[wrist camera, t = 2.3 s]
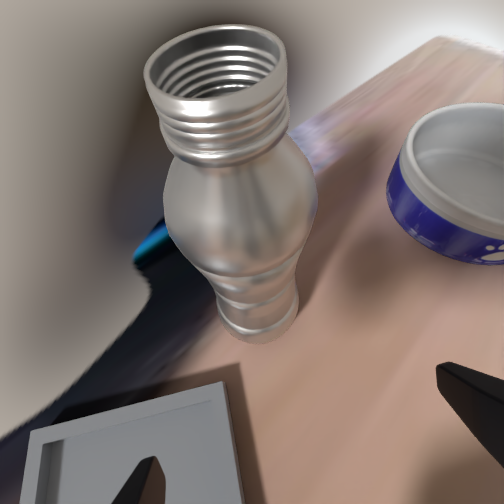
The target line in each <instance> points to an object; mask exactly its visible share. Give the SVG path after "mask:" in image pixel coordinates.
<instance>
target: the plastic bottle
mask: <svg viewBox="0 0 504 504" xmlns="http://www.w3.org/2000/svg"><path fill="white" fill-rule="evenodd" d="M144 79H145V81H146V88H147V90H148V93H149V95H150V97H151V99H152V102H153V104H154V107H155V109H156V111H157V114H158V116H159V118H160V130H161V132H162V135H163V137H164V139H165V142H166V144H167V146H168V148H169V150H170V151H171V152H172V153H173V154H174V155H175V157H174V159H173V162H172V164H171V166H170V169H169V173H168V177H167V181H166V184H165V189H164V195H163V200H164V213H165V221H166V226H167V229H168V232H169V235H170V236H171V238H172V240H173V241H174V243H175V244H176V246H177V247H178V248H179V249H180V251H181V252H182V253H183V255H184V256H185V257H186V258H187V259H188V260H189V261H190V262H191V263H192V264H193V265H194V266H195V267H196V268H197V269H198V270H199V271H200V272H201V273H202V274H203V275H204V276H205V277H206V278H207V279H208V281H209V282H210V284H211V285H212V287H213V288H214V290H215V294H216V297H217V299H216V302H217V308H218V314H219V317H220V320H221V322H222V324H223V326H224V327H225V329H226V330H227V331H228V332H229V333H230V334H231V335H233V336H234V337H236V338H237V339H239V340H242V341H244V342H247V343H252V344H264V343H268V342H271V341H273V340H275V339H277V338H279V337H280V336H281V335H282V334H283V333H285V332H286V331H287V330H288V328H289V327H290V326H291V325H292V323H293V321H294V319H295V317H296V315H297V311H298V306H299V296H298V289H297V285H296V282H295V270H296V266H297V262H298V258H299V256H300V254H301V252H302V249H303V247H304V245H305V243H306V241H307V238H308V236H309V234H310V231H311V228H312V225H313V222H314V219H315V215H316V212H317V208H318V192H317V187H316V182H315V178H314V173H313V169H312V167H311V165H310V163H309V161H308V159H307V158H306V156H305V155H304V154H303V152H302V151H301V150H300V148H299V147H298V146H297V144H296V143H295V142H294V141H293V139H292V138H291V137H290V136H289V135H288V134H287V133H286V131H287V128H288V124H289V113H290V112H289V111H290V105H289V99H288V97H287V94H286V91H287V90H286V88H287V58H286V51H285V46H284V44H283V42H282V41H281V39H280V38H278V37H277V36H276V35H275V34H273V33H271V32H270V31H268V30H265V29H262V28H259V27H255V26H250V25H239V24H227V25H217V26H210V27H205V28H201V29H197V30H194V31H191V32H187V33H185V34H183V35H181V36H178V37H176V38H174V39H172V40H170V41H169V42H167V43H165V44H164V45H163V46H161V47H160V48H158V49H157V50H156V51H155V53H153V54H152V55H151V57H150V58H149V60H148V61H147V63H146V65H145V68H144Z"/></svg>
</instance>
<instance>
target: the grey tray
mask: <svg viewBox="0 0 504 504" xmlns="http://www.w3.org/2000/svg"><path fill="white" fill-rule="evenodd" d="M150 456H156V457H157V459H158V461H159V463H160V465H161V467H162V470H163V472H164V474H165V478H166V496H165V504H245V498H244V492H243V486H242V480H241V474H240V468H239V462H238V455H237V449H236V443H235V437H234V431H233V425H232V419H231V413H230V407H229V401H228V394H227V388H226V383H225V382H223V381H220V382H217V383H213V384H209V385H205V386H201V387H197V388H194V389H190V390H186V391H182V392H178V393H175V394H171V395H167V396H163V397H159V398H155V399H152V400H148V401H144V402H140V403H136V404H133V405H129V406H125V407H121V408H117V409H113V410H110V411H106V412H102V413H98V414H94V415H90V416H87V417H83V418H79V419H75V420H71V421H68V422H64V423H60V424H56V425H52V426H48V427H45V428H41V429H37V430H33V431H31V433H30V440H29V446H28V453H27V459H26V466H25V472H24V479H23V485H22V491H21V498H20V504H111V503H112V502H113V500H114V499H115V497H116V496H117V494H118V493H119V491H120V490H121V488H122V487H123V485H124V484H125V482H126V481H127V479H128V478H129V476H130V475H131V473H132V472H133V471H134V469H135V468H136V466H137V465H138V463H139V462H140V461H141V460H142V459H144V458H147V457H150Z"/></svg>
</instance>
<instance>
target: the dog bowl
mask: <svg viewBox="0 0 504 504" xmlns="http://www.w3.org/2000/svg"><path fill="white" fill-rule="evenodd" d="M386 195H387V201H388V205H389V208H390V210H391V212H392V214H393V216H394V218H395V219H396V221H397V222H398V223H399V224H400V226H401V227H402V228H403V229H404V230H405V231H406V232H407V233H408V234H409V235H411V236H412V237H413V238H414V239H416V240H417V241H418V242H420V243H421V244H423V245H425V246H426V247H428V248H430V249H432V250H433V251H435V252H437V253H440V254H442V255H444V256H447V257H450V258H452V259H455V260H459V261H463V262H467V263H472V264H481V265H501V264H504V104H497V103H483V102H473V103H460V104H453V105H449V106H445V107H441V108H438V109H436V110H433V111H431V112H429V113H427V114H426V115H424V116H423V117H421V118H420V119H419V120H418V121H417V122H416V123H415V124H414V125H413V126H412V128H411V129H410V131H409V133H408V135H407V137H406V139H405V141H404V144H403V146H402V148H401V150H400V152H399V155H398V157H397V159H396V161H395V164H394V166H393V168H392V171H391V173H390V176H389V178H388V182H387V187H386Z"/></svg>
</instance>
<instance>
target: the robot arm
mask: <svg viewBox="0 0 504 504" xmlns="http://www.w3.org/2000/svg"><path fill="white" fill-rule="evenodd" d="M436 377H437V387H438V389H439V391H440V393H441V395H442V396H443V397H444V398H445V400H446V401H447V402H448V403H449V405H450V406H451V407H452V408H453V410H454V411H455V412H456V413H457V415H458V416H459V417H460V418H461V420H462V421H463V422H464V423H465V425H466V426H467V427H468V428H469V430H470V431H471V432H472V433H473V435H474V436H475V437H476V438H477V439H478V441H479V442H480V443H481V444H482V445H483V446H484V447H485V449H486V450H487V451H488V452H489V453H490V454H491V455H492V456H493V457H494V458H495V459H496V460H497V461H498V463H499V464H500V465H501V466H502V467H503V468H504V380H502V379H499V378H496V377H493V376H490V375H487V374H484V373H482V372H479V371H476V370H473V369H470V368H467V367H464V366H461V365H458V364H456V363H453V362H445V363H442V364H439V365H437V366H436ZM165 496H166V478H165V474H164V472H163V470H162V467H161V465H160V463H159V461H158V459H157V457H156V456H150V457H147V458H144V459H142V460H141V461H140V462H139V463H138V465H137V466H136V468H135V469H134V471H133V472H132V473H131V475H130V476H129V478H128V479H127V481H126V482H125V484H124V485H123V487H122V488H121V490H120V491H119V493H118V494H117V496H116V497H115V499H114V500H113V502H112V503H111V504H165Z"/></svg>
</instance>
